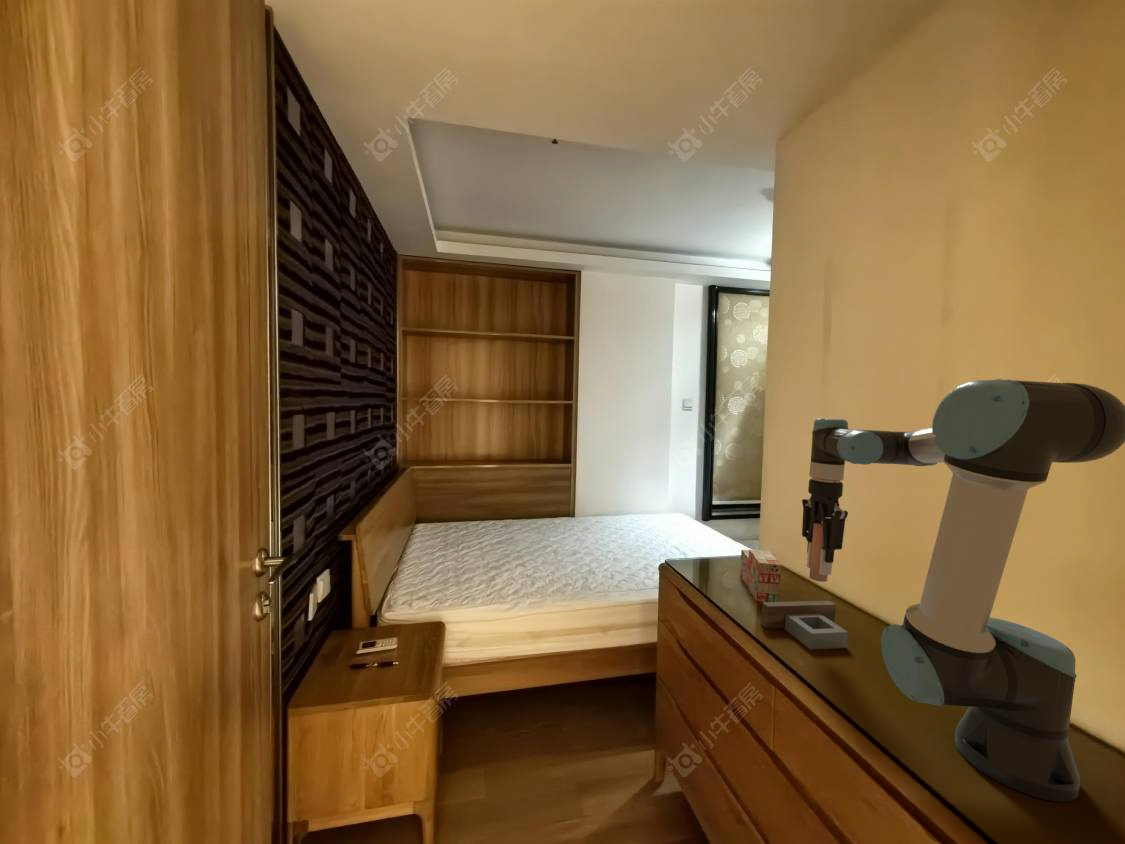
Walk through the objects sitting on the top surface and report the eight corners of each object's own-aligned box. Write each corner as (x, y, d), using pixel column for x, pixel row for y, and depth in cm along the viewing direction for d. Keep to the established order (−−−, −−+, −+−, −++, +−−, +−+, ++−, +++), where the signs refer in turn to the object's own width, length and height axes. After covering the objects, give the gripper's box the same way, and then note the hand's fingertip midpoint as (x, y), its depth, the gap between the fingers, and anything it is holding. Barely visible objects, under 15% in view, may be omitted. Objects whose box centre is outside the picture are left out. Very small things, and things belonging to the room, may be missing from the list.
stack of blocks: (739, 575, 161) (742, 540, 161) (758, 577, 160) (761, 542, 160) (756, 602, 140) (759, 562, 139) (778, 604, 139) (781, 564, 139)
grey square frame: (846, 647, 116) (848, 632, 115) (810, 649, 114) (811, 633, 114) (818, 627, 125) (819, 613, 125) (784, 629, 124) (785, 614, 124)
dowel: (825, 583, 117) (829, 527, 116) (807, 578, 119) (812, 524, 118) (828, 578, 120) (833, 524, 119) (811, 574, 122) (815, 521, 122)
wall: (834, 626, 127) (835, 604, 126) (766, 628, 124) (768, 606, 123) (827, 621, 129) (829, 600, 129) (761, 624, 126) (762, 602, 126)
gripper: (866, 486, 110) (857, 583, 112) (815, 474, 127) (809, 558, 128) (837, 486, 109) (829, 584, 110) (790, 473, 126) (784, 559, 127)
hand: (818, 570), depth 119 cm, fingers closed on dowel, 4 cm apart
